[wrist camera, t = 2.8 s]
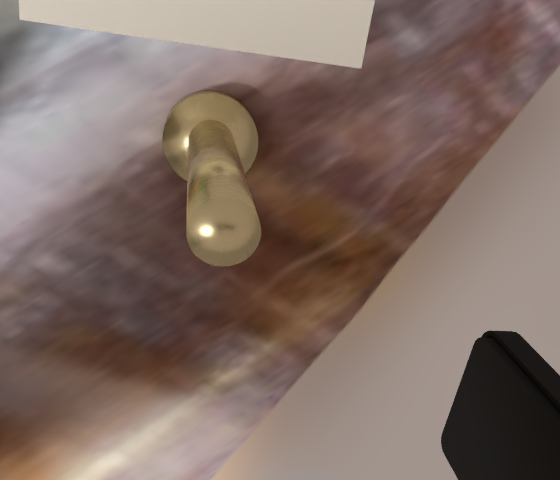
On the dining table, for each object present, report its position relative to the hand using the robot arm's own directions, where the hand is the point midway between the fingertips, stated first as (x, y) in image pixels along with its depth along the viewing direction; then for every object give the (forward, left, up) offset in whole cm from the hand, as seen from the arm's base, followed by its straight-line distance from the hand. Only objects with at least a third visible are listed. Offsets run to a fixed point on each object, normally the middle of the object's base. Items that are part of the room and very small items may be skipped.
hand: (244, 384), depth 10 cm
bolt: (0, 0, -20) cm, 20 cm away
